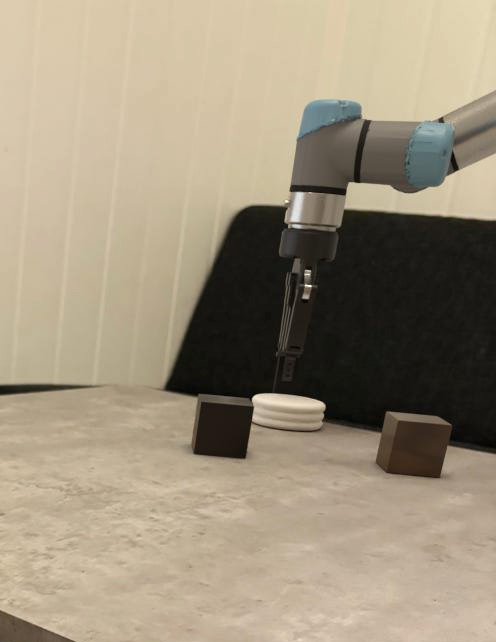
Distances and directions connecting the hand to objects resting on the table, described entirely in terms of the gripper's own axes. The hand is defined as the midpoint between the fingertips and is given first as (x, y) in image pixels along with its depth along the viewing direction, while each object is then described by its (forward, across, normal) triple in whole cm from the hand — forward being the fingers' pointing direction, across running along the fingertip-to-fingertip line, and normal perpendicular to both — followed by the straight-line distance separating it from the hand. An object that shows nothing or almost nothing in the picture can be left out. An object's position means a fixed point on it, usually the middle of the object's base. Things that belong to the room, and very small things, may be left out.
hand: (280, 403), depth 147 cm
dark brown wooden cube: (+2, +31, +11) cm, 33 cm away
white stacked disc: (+2, +7, 0) cm, 7 cm away
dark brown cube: (+2, +31, -11) cm, 33 cm away
